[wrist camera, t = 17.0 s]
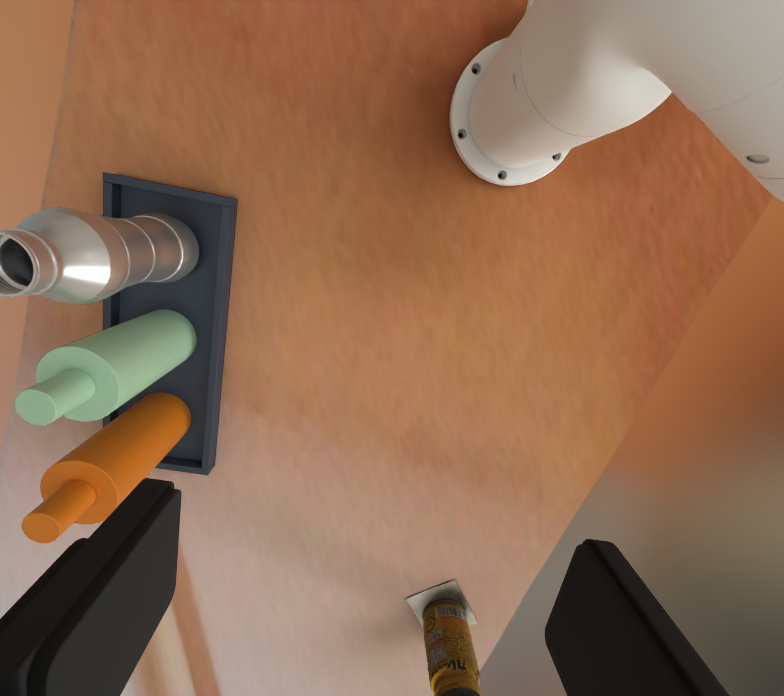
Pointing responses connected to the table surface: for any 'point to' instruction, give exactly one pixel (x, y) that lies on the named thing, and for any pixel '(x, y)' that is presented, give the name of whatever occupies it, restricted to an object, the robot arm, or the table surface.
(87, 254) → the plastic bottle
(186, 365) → the tray
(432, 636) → the condiment
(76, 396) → the sage bottle
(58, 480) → the amber bottle
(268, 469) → the table surface
